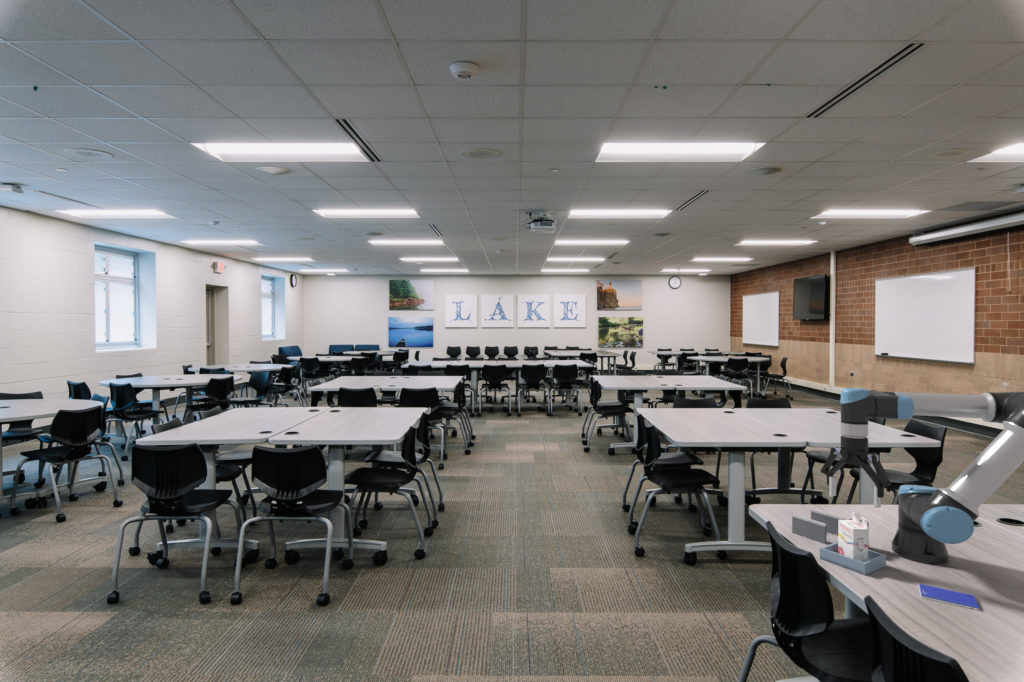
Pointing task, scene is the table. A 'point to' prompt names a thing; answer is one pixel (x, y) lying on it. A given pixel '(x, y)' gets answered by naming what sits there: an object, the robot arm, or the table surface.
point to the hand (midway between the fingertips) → (854, 501)
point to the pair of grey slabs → (816, 525)
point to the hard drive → (947, 596)
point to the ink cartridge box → (853, 538)
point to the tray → (864, 568)
